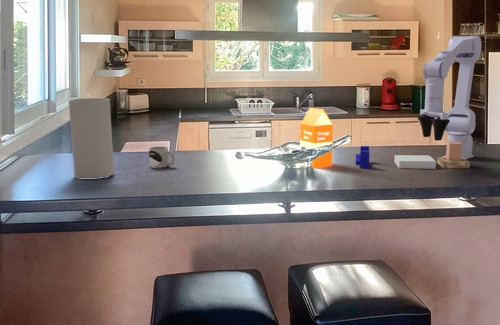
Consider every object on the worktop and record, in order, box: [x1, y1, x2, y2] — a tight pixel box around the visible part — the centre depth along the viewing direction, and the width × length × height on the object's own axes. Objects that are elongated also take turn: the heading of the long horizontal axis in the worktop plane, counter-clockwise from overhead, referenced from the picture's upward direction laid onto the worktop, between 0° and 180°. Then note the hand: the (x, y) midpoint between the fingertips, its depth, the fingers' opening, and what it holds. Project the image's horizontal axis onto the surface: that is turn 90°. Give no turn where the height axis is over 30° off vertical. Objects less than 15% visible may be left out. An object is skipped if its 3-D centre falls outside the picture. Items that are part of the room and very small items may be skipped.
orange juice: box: [299, 107, 333, 169], centre depth 188 cm, size 8×9×20 cm
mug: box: [148, 146, 176, 167], centre depth 189 cm, size 10×7×7 cm
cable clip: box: [355, 145, 370, 170], centre depth 188 cm, size 12×4×6 cm, turn 168°
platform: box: [394, 154, 437, 170], centre depth 187 cm, size 12×11×2 cm
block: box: [445, 141, 462, 161], centre depth 185 cm, size 4×4×8 cm
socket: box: [436, 156, 471, 169], centre depth 185 cm, size 9×9×2 cm
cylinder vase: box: [68, 97, 115, 179], centre depth 174 cm, size 12×12×25 cm
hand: (432, 138), depth 180 cm, fingers open, 7 cm apart
